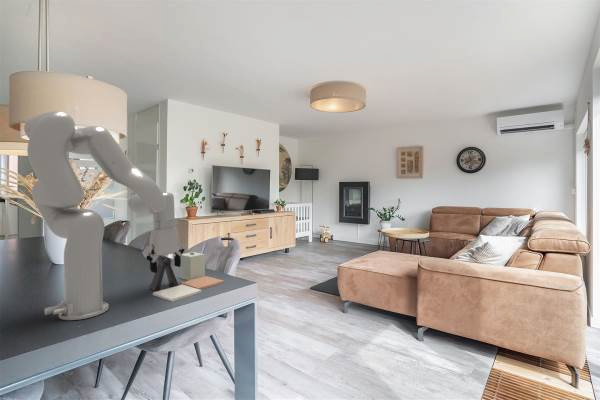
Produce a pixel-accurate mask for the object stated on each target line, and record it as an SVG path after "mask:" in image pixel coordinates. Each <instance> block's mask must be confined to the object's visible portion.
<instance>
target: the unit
mask: <svg viewBox="0 0 600 400" xmlns="http://www.w3.org/2000/svg"><path fill="white" fill-rule="evenodd" d="M205 264H206V255H205V253H200V252H196V251H195V252H194V251H192V252H186V253H182V256H181V266H180V267H178V268H179V279H183V280H185V281H188V280H192V279H196V278H200V277H204V276H206V267H205V266H206V265H205Z"/></svg>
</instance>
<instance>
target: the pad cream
mask: <svg viewBox="0 0 600 400" xmlns="http://www.w3.org/2000/svg"><path fill="white" fill-rule="evenodd" d="M178 285H179V286H175V287H172V288H168V289H164V290H160V291H157V292H154V291H153V292H152V295H153V296H155V297H157V298H160V299H163V300H165V301H169V302H175V301H178V300H182V299H184V298H189V297H192V296H194V295H197V294H201V293H203V289H201V290H199V289H196V288H193V287H189V286H186V285H180V284H178Z"/></svg>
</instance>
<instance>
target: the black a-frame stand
mask: <svg viewBox="0 0 600 400" xmlns="http://www.w3.org/2000/svg"><path fill="white" fill-rule="evenodd" d="M171 265H172V261H171V258H169V257H167V256H166V255H163V256H158V258H157V273H154V275H153V279H152V281H151V283H150V287H149V289H151V290H152V291H153V292H157V291H160V290H164V289H168V288H172V287H175V286H179V285H180V284H179V283H178V280H177V277H176V275H175V273H174V271H173V268H172V266H171ZM164 273H166V277H167V281H168V283H167V284H162V282H163V279H164Z"/></svg>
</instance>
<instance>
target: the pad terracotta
mask: <svg viewBox="0 0 600 400" xmlns="http://www.w3.org/2000/svg"><path fill="white" fill-rule="evenodd" d="M223 283H225V280H223V279H219V278H214V277H211V276H207V275H205V276H204V277H200V278H196V279H192V280H185V281H182V282H180V283H179V285H186V286H189V287H193V288H196V289H199V290H205V289H207V288H211V287H214V286H217V285H221V284H223Z"/></svg>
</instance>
